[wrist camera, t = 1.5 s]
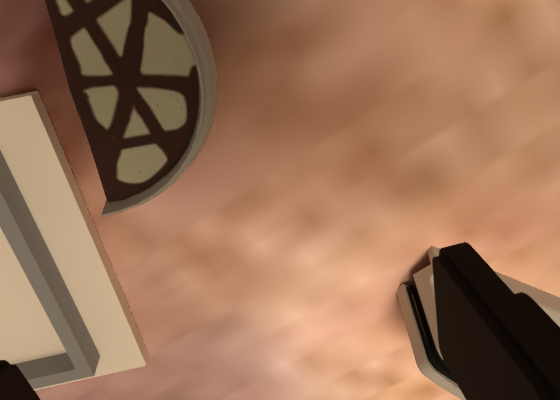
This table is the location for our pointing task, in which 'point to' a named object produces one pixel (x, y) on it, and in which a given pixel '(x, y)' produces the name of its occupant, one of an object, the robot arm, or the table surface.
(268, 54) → the table surface
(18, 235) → the board
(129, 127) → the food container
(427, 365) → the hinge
